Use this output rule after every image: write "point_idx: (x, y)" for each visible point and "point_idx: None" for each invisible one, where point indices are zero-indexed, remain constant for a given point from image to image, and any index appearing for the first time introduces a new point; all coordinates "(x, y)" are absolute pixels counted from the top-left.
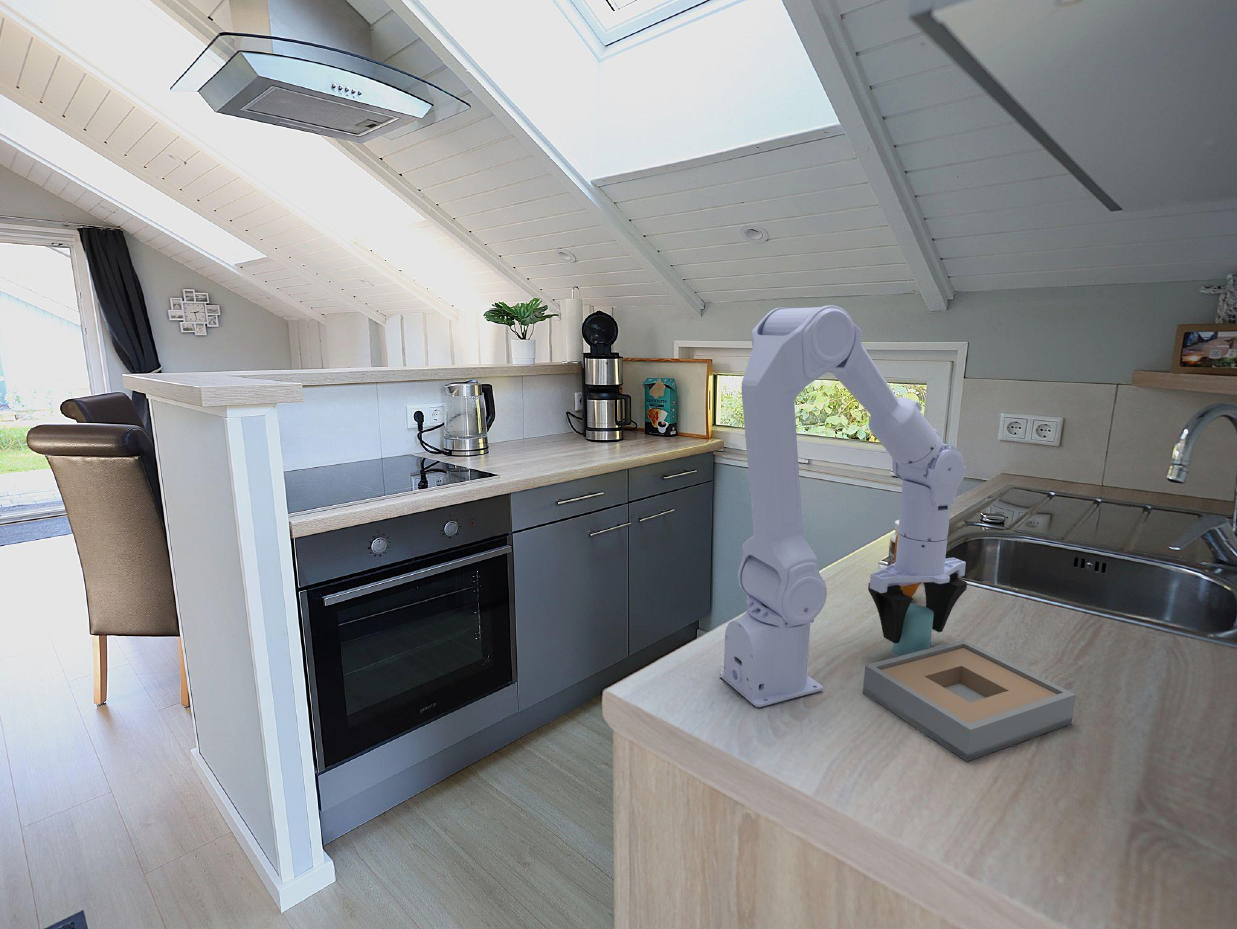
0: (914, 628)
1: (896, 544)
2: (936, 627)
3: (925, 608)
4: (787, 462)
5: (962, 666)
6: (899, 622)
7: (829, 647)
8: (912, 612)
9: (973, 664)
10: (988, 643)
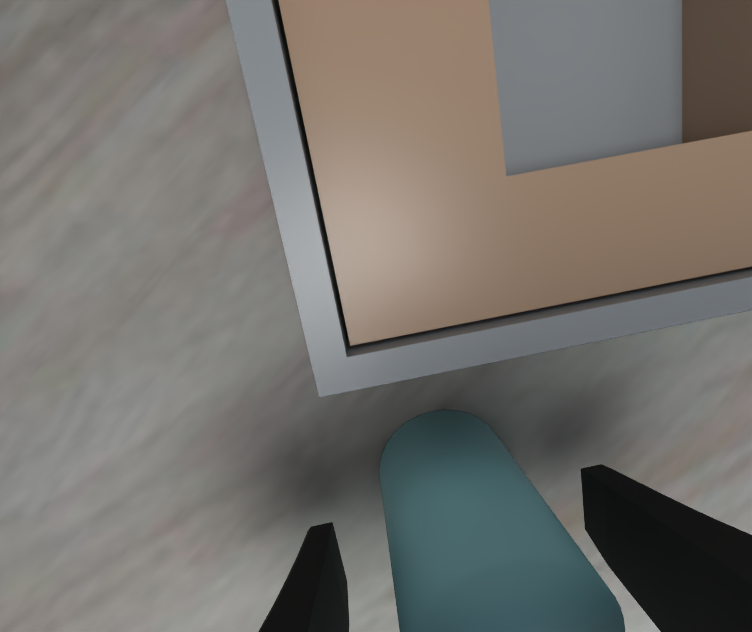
0: (546, 513)
1: None
2: (336, 550)
3: None
4: None
5: (505, 171)
6: (723, 530)
7: None
8: (556, 630)
9: (435, 172)
10: (78, 483)
